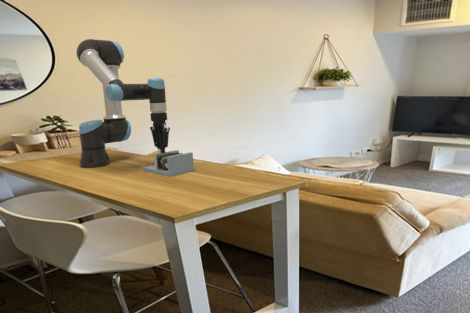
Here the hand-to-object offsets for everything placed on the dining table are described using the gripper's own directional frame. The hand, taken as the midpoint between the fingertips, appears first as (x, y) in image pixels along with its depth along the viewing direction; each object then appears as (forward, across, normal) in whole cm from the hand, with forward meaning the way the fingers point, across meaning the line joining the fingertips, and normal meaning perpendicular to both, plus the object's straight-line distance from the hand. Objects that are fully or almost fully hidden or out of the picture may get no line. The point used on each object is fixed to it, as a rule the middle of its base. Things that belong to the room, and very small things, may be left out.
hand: (162, 161), depth 163 cm
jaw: (+2, +4, 0) cm, 5 cm away
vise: (+4, +4, 0) cm, 6 cm away
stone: (+2, +9, +1) cm, 10 cm away
